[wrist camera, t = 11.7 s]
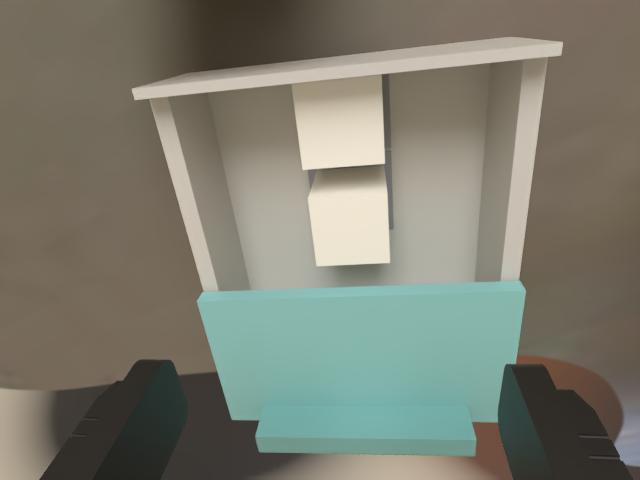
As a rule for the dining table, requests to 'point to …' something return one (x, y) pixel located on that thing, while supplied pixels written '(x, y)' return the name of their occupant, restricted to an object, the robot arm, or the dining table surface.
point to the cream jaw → (350, 216)
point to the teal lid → (365, 364)
